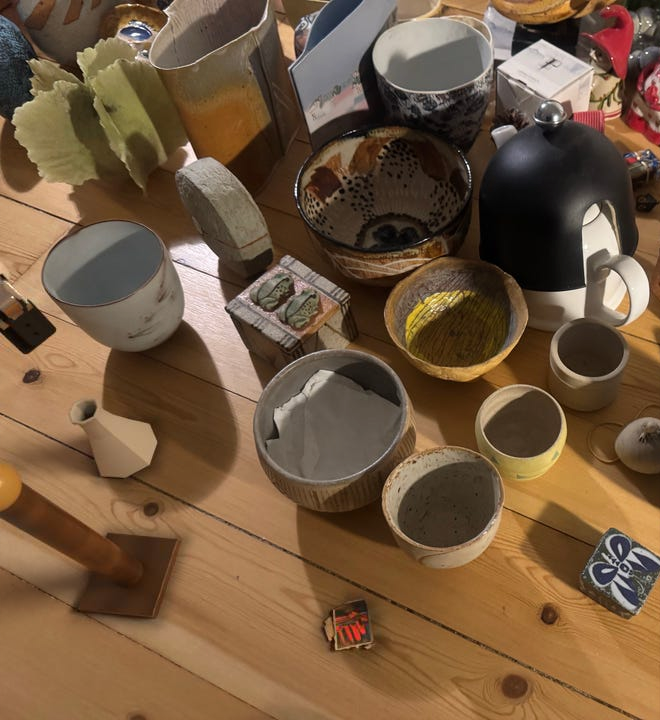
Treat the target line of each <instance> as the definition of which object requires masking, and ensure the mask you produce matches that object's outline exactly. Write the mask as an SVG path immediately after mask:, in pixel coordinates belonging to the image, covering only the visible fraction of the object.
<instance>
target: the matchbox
mask: <svg viewBox="0 0 660 720" xmlns="http://www.w3.org/2000/svg"><path fill="white" fill-rule="evenodd" d="M332 611H333V612H332V616H329V617H328V618H327V619H326V620H325V621H324V623H325V625H323V627H324V630H325V633H326V637H327V638H328V641H330V642H331V641H332V640H333V639H334V649H335V651H341V650H344V649H345V650H346V649H348V650H349V649H350V648H356V649H359V647H360V646H362V645H365V646H364V649H366V650H368V649H371V648H372V647H375V645H377V643H376V642H374V643H373V641H374V635H373V632H372V631H373V628H372V623H371V622H372V618H371V612H370V611H371V610H370V609H369V606H368V604H367V602H366V600H365V598H362V599H361V598H359V599H354V600H349V601H347V602H345V603H342V604H341V605H339V606H337V607H336V608H334V609H332Z"/></svg>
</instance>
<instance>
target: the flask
mask: <svg viewBox="0 0 660 720" xmlns="http://www.w3.org/2000/svg"><path fill="white" fill-rule="evenodd" d="M67 415H68V417H69V420H70V422H71V424H72V425H74V426H79V427H80V428H81V429H82V430H83V431H84V433H85V434H86V436H87V438H88V440H89V443H90V447H91V451H92V456H93V458H94V462H95V463H96V466H97V469H98V471H99V474H100V477H108V478H123V479H125V478H127V477H130V476H131V475H133V474H135V473H138V472H139V471H141V470H143V469H144V468H146V467H148V466H150V465H151V462H152V459H153V456H154V454H155V450H156V447H157V445H158V440H157V438H156V436H155V433H154V431H153V429H152V426H151V424H150V423H147V422H143V421H139V420H134V419H130V418H126V417H123V416H119V415H117V414H113V413H111V412H109V411H107V410H105V409H104V408H102V407H101V405H100V402H99V400H98V398H96V397H83V398H80V399H78V400H76V401H75V402H73V403H72V404H71V407H70V409H69V410H68V414H67Z"/></svg>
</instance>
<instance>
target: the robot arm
mask: <svg viewBox="0 0 660 720" xmlns="http://www.w3.org/2000/svg"><path fill="white" fill-rule="evenodd" d="M10 280H11V271H10V269H8V267H7V266H6V265H5V263H3V261H2V260H1V259H0V334H1V335H2V336H3V337H4V338H5V339H6V340H8V341H9V342H10V344H12V345H13V347H15V348H16V350H18V351H19V352H20V353H21V354H23V355H29V354H31V353H32V352H33V351H34V350H35V349H37V348H38V347H40V346H41V345H42V344H43V343H45V342H46V341H47V340H48V339H50V338H51V337H52V336H53V335H55V333H56V332H57V327H56V326H55V325H54V324H53V323H52V322H51V321H50V320H49V319H48V317H47V316H46V315H45V314H44V313H43V312H42V311H41V310H40V309H39V308H38V307H37V306H36V304H34V303H33V301H32V300H30V298H26V297H25V296H23V295H22V294H21V293H20V292H19V291H18V290H17V289H16V288H15V287H14V286H13V285H12V284H10Z"/></svg>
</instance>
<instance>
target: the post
mask: <svg viewBox="0 0 660 720" xmlns="http://www.w3.org/2000/svg"><path fill="white" fill-rule="evenodd" d="M0 519H1V520H3V521H4V522H7V523H8V524H10V525H11V526H14V528H17V530H18V529H19V530H20V531H22V532H24V533H25V534H28V535H29V536H30V537H32V538H33V539H36V540H38V541H40V542H41V543H43V544H45V545H46V546H49V547H50V548H51V549H54V550H55V551H57V552H59V553H61V554H63V555H64V556H66V557H67V558H70V559H71V560H73V561H74V562H76V563H78V564H80V565H82V566H83V567H85V568H87V569H89V570H90V571H91V572H90V573H91V574H90V576H89V579H88V581H87V584H86V586H85V590H84V592H83V594H82V597H81V599H80V601H79V604H78V606H77V609H78V610H80V611H83V612H89V613H101V614H111V615H122V616H131V617H140V618H150V619H157V618H158V616H159V612H160V610H161V609H160V608H161V606H162V602H163V600H164V598H165V597H164V596H165V593H166V591H167V587H168V584H169V581H170V578H171V575H172V572H173V569H174V566H175V563H176V560H177V557H178V553H179V550H180V547H181V545H182V541H181V540H180V539H179V538H172V537H171V538H170V537H160V536H150V535H149V536H148V535H137V534H127V533H116V532H107V533H106V535H105V536H104V535H102V534H101V533H100V532H98V531H96V530H95V529H93V528H92V527H90V526H89V525H88V524H86V523H84V522H83V521H81V520H80V519H78V518H77V517H76V516H74V515H73V514H71V513H69V512H68V511H67V510H65V509H63V508H62V507H61V506H59V505H58V504H56V503H54V501H52V500H50V499H48V498H47V497H46V496H44V495H42V493H40V492H38V491H37V490H36V489H33V488H32V487H31V486H29V485H28V484H26V483H24V482H23V481H22V478H21V475H20V474H19V472H18V471H17V469H16V468H14V467H13V466H12V465H10V464H9V463H7V462H4V461H0Z"/></svg>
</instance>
